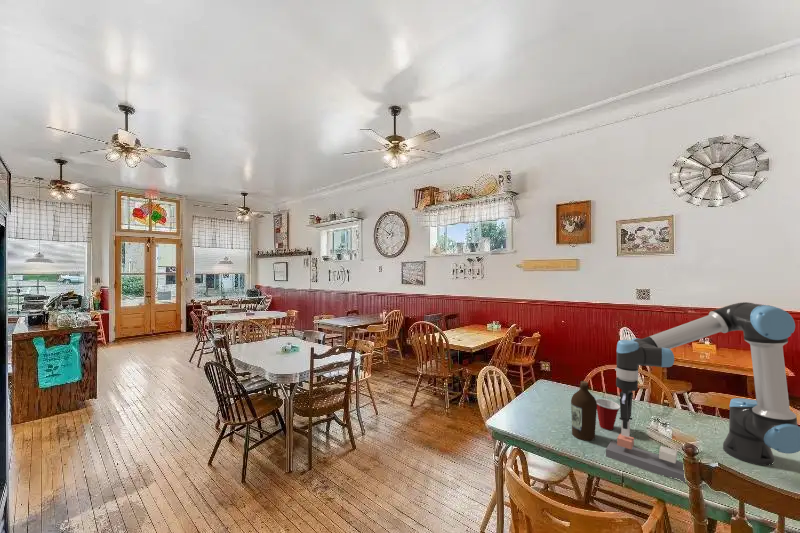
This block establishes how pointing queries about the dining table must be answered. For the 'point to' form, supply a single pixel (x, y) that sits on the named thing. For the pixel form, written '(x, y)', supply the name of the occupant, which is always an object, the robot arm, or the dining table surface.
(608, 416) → the plastic cup
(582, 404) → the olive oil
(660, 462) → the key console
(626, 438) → the salmon pink block
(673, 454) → the white key
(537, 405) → the dining table surface
